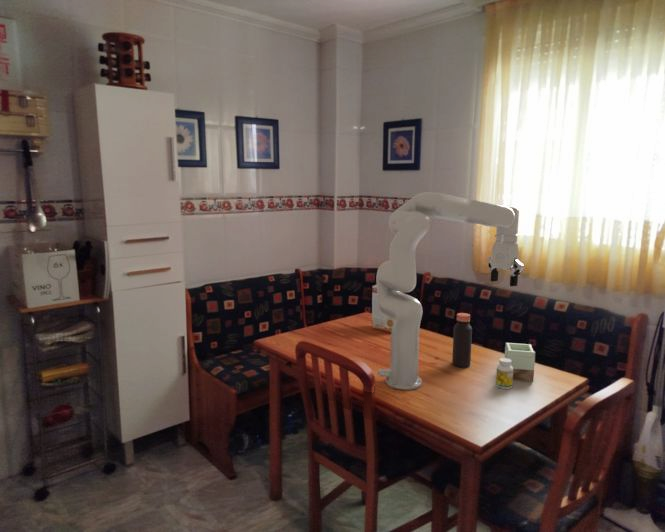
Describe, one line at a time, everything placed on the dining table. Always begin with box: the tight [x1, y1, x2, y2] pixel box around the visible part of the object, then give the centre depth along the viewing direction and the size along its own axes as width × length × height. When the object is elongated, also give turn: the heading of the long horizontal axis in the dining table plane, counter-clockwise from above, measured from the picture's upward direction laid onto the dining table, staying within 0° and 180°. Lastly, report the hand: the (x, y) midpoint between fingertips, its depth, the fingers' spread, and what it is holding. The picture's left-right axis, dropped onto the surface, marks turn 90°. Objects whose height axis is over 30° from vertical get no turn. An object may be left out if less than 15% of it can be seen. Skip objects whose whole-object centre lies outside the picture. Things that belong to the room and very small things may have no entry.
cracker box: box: [371, 284, 404, 333], centre depth 229 cm, size 14×6×21 cm, turn 46°
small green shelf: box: [504, 342, 536, 371], centre depth 177 cm, size 9×9×6 cm
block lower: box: [513, 369, 535, 383], centre depth 178 cm, size 9×9×4 cm
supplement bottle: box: [495, 357, 514, 390], centre depth 168 cm, size 5×5×10 cm
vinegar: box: [451, 312, 473, 368], centre depth 187 cm, size 7×7×20 cm
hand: (503, 283), depth 186 cm, fingers open, 9 cm apart
